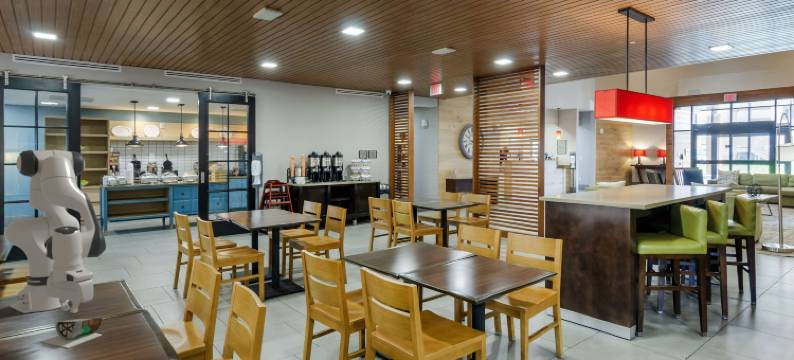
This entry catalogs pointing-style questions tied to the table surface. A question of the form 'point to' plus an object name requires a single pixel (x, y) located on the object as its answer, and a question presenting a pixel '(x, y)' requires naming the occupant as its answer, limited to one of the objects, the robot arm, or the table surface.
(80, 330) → the food container
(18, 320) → the table surface
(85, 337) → the cream flat rectangular plate
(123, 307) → the table surface
